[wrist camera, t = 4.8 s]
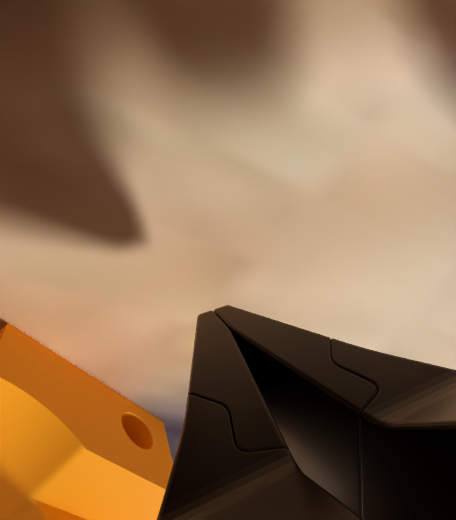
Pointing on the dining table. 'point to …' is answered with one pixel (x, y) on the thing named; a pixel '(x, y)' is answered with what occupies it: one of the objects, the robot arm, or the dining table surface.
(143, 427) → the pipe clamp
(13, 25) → the dining table surface
